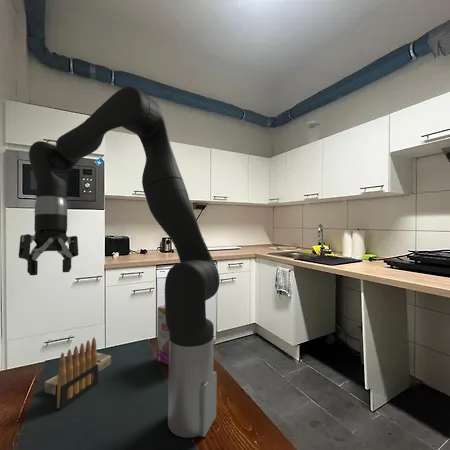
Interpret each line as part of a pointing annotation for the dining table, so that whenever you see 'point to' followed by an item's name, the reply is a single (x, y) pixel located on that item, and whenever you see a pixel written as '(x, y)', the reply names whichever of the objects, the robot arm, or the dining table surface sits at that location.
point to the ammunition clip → (76, 374)
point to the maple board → (102, 362)
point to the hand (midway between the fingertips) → (50, 273)
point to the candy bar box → (162, 337)
